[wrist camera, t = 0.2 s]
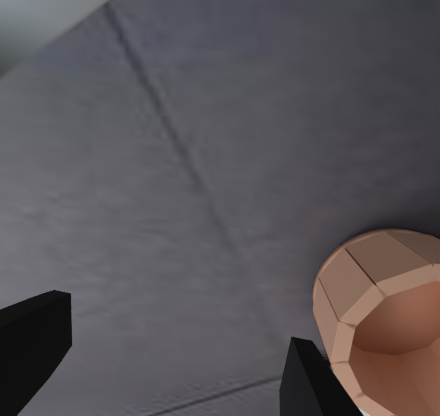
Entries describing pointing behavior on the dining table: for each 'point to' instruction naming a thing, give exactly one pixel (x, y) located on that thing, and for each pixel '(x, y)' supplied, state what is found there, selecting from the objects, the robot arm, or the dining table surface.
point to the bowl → (383, 320)
